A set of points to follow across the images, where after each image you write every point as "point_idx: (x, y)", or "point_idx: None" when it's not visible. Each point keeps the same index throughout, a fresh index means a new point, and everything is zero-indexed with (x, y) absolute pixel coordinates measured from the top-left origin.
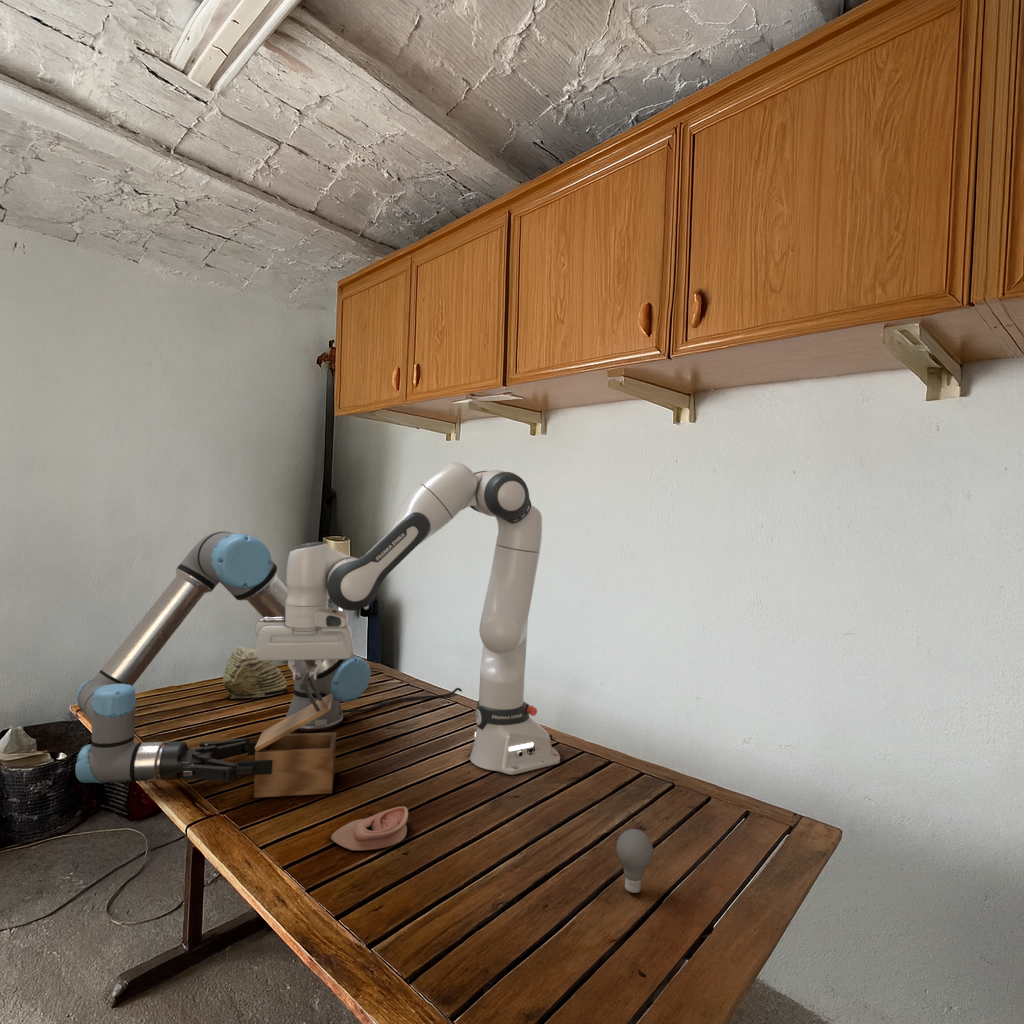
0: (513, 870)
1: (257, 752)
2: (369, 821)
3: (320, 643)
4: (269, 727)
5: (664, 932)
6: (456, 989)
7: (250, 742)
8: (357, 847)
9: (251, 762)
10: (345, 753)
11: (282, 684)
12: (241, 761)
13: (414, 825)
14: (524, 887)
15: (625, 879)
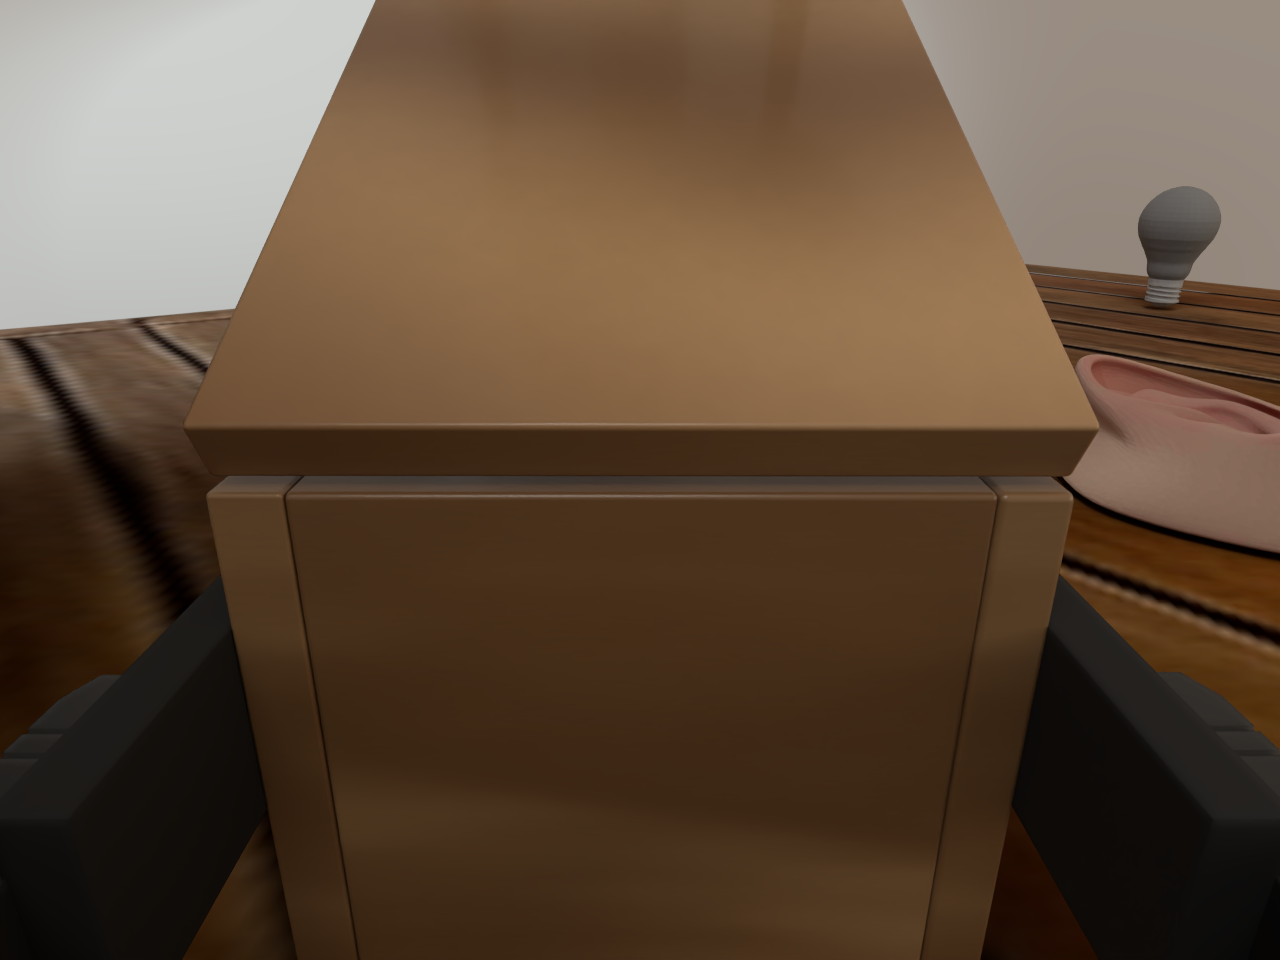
0: (1187, 356)
1: (1057, 482)
2: (1220, 424)
3: None
4: (238, 319)
5: (1266, 307)
6: None
7: (55, 788)
8: None
9: (1135, 658)
10: (155, 560)
11: None
12: (1201, 777)
13: None
14: (1252, 353)
15: (1163, 290)
